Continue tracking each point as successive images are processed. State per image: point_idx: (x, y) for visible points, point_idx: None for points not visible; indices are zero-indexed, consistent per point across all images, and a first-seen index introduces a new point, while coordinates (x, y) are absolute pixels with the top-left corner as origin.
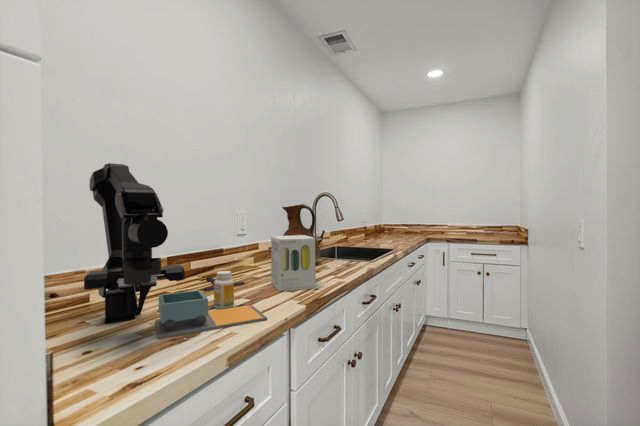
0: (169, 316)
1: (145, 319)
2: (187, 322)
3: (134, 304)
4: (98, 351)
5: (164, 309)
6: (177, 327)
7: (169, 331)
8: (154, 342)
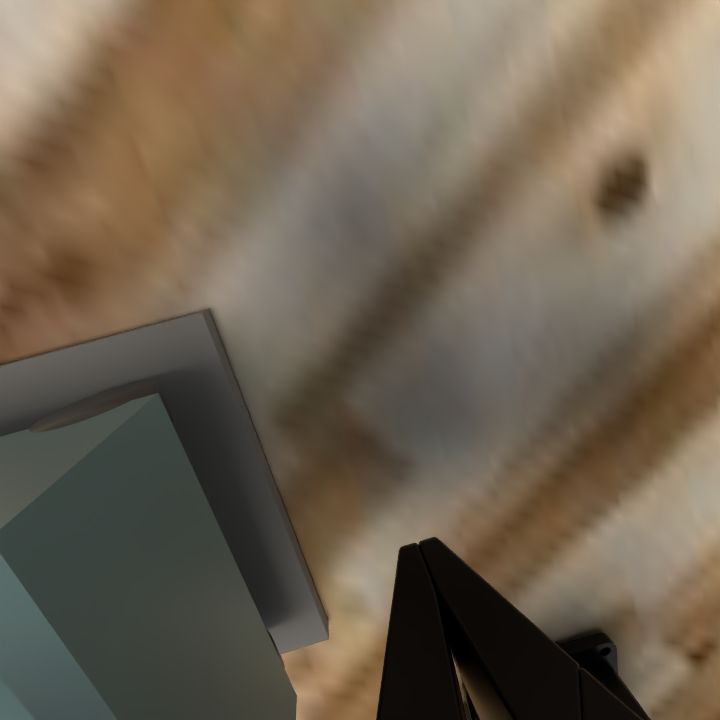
0: (32, 444)
1: None
2: None
3: (505, 638)
4: (560, 183)
5: (9, 487)
6: None
7: None
8: (216, 250)
